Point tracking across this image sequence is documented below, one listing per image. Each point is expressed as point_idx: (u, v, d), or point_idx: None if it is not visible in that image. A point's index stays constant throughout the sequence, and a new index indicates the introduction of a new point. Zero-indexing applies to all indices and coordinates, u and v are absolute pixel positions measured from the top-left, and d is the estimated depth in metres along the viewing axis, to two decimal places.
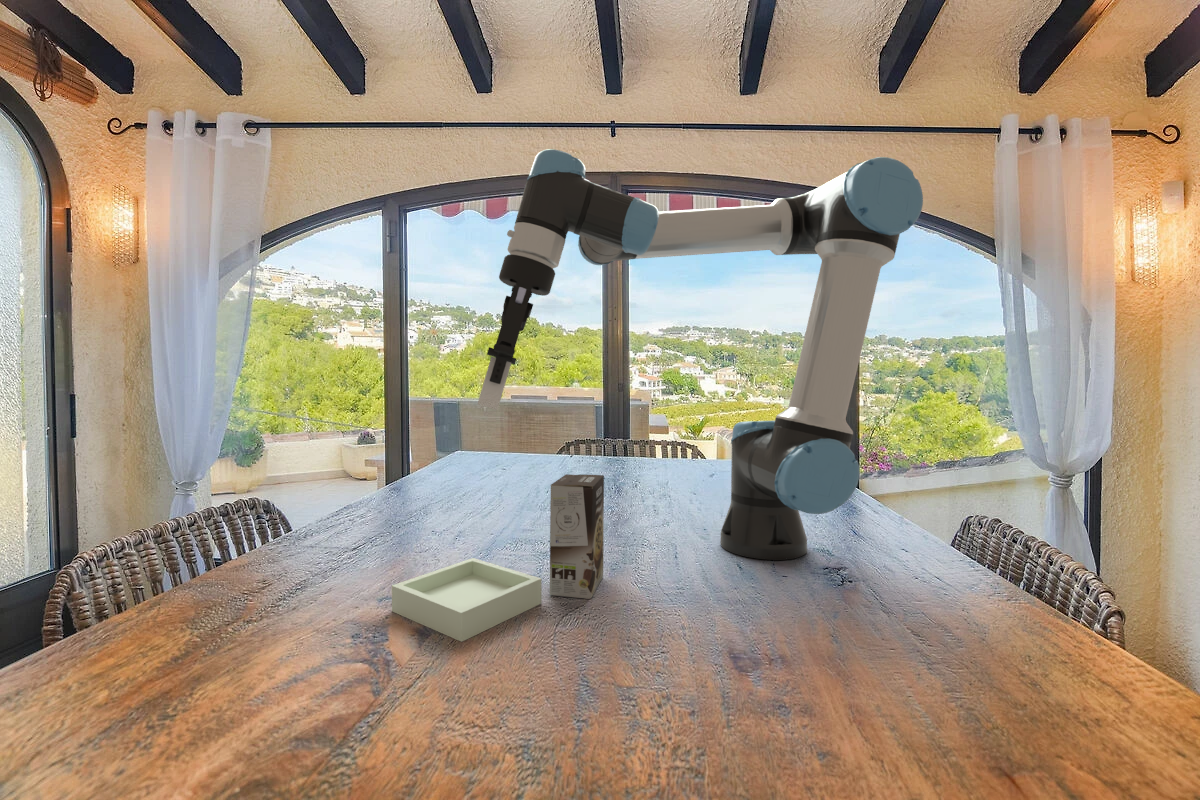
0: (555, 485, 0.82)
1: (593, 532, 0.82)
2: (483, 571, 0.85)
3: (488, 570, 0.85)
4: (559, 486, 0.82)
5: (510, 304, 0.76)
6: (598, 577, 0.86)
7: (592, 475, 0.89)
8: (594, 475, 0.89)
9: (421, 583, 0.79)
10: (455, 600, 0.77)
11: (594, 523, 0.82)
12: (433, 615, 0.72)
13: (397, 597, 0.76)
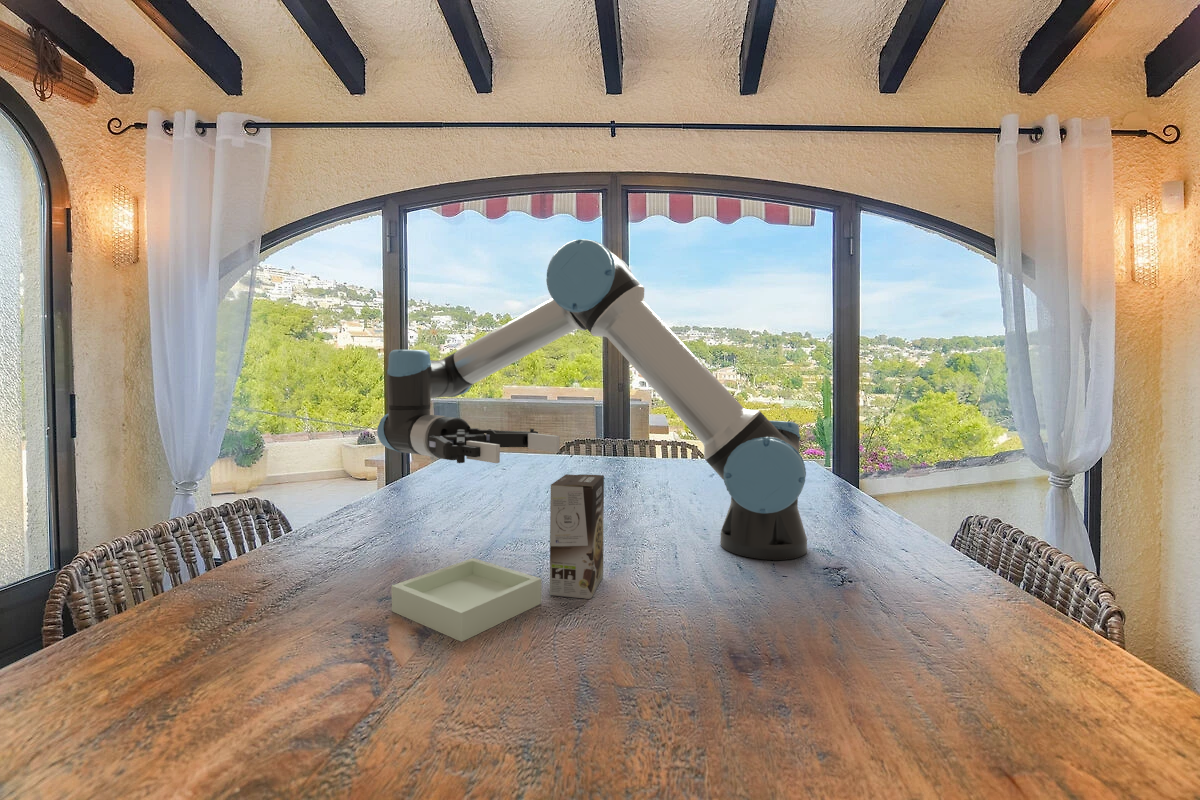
0: (555, 485, 0.82)
1: (593, 532, 0.82)
2: (483, 571, 0.85)
3: (488, 570, 0.85)
4: (559, 486, 0.82)
5: (436, 451, 0.93)
6: (598, 577, 0.86)
7: (592, 475, 0.89)
8: (594, 475, 0.89)
9: (421, 583, 0.79)
10: (455, 600, 0.77)
11: (594, 523, 0.82)
12: (433, 615, 0.72)
13: (397, 597, 0.76)
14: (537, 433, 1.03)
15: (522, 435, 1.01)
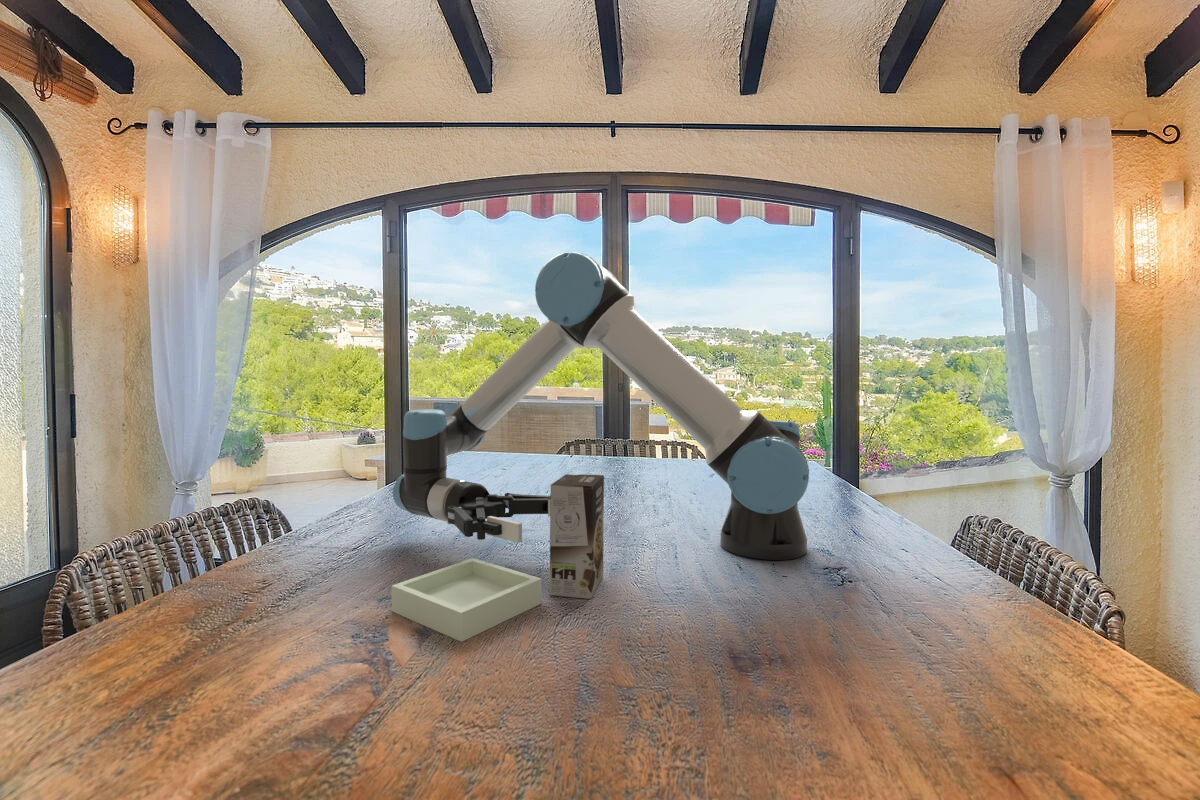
0: (555, 485, 0.82)
1: (593, 532, 0.82)
2: (483, 571, 0.85)
3: (488, 570, 0.85)
4: (559, 486, 0.82)
5: (455, 523, 0.91)
6: (598, 577, 0.86)
7: (592, 475, 0.89)
8: (594, 475, 0.89)
9: (421, 583, 0.79)
10: (455, 600, 0.77)
11: (594, 523, 0.82)
12: (433, 615, 0.72)
13: (397, 597, 0.76)
14: None
15: (542, 501, 0.98)
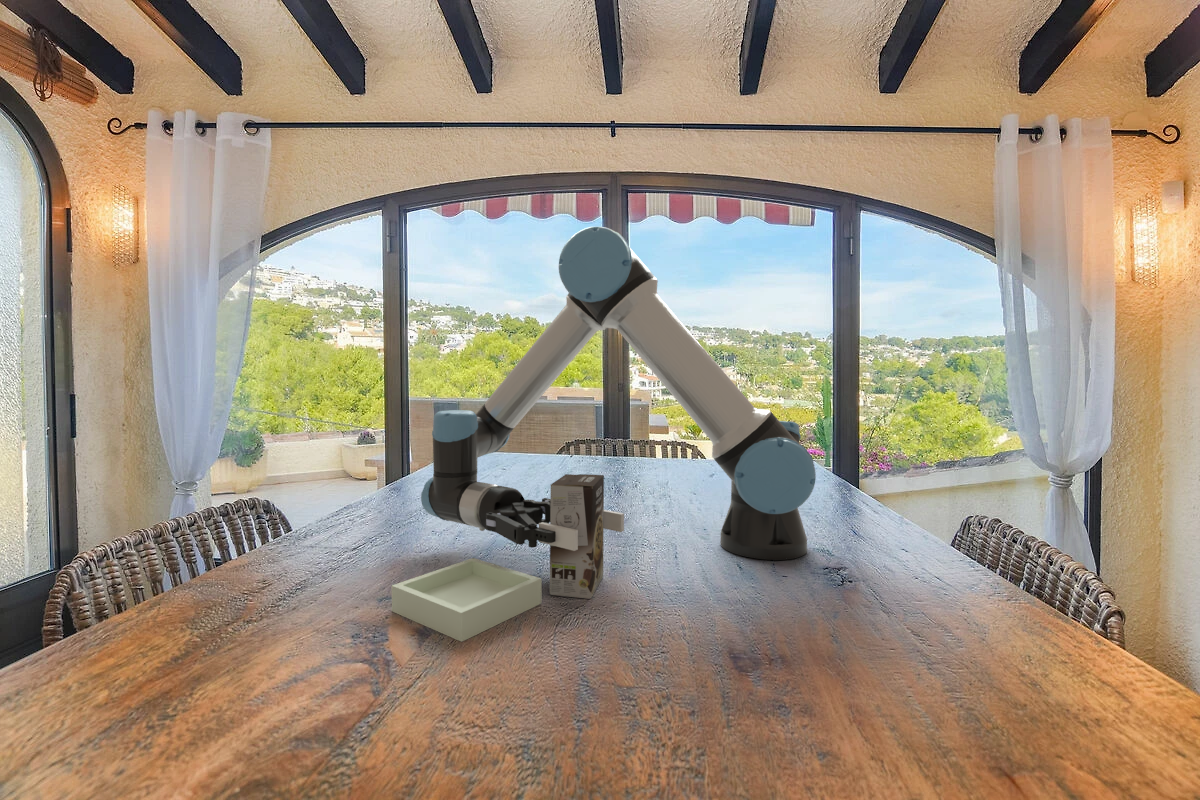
0: (555, 485, 0.82)
1: (593, 532, 0.82)
2: (483, 571, 0.85)
3: (488, 570, 0.85)
4: (559, 486, 0.82)
5: (497, 531, 0.86)
6: (598, 577, 0.86)
7: (592, 475, 0.89)
8: (594, 475, 0.89)
9: (421, 583, 0.79)
10: (455, 600, 0.77)
11: (594, 523, 0.82)
12: (433, 615, 0.72)
13: (397, 597, 0.76)
14: None
15: None
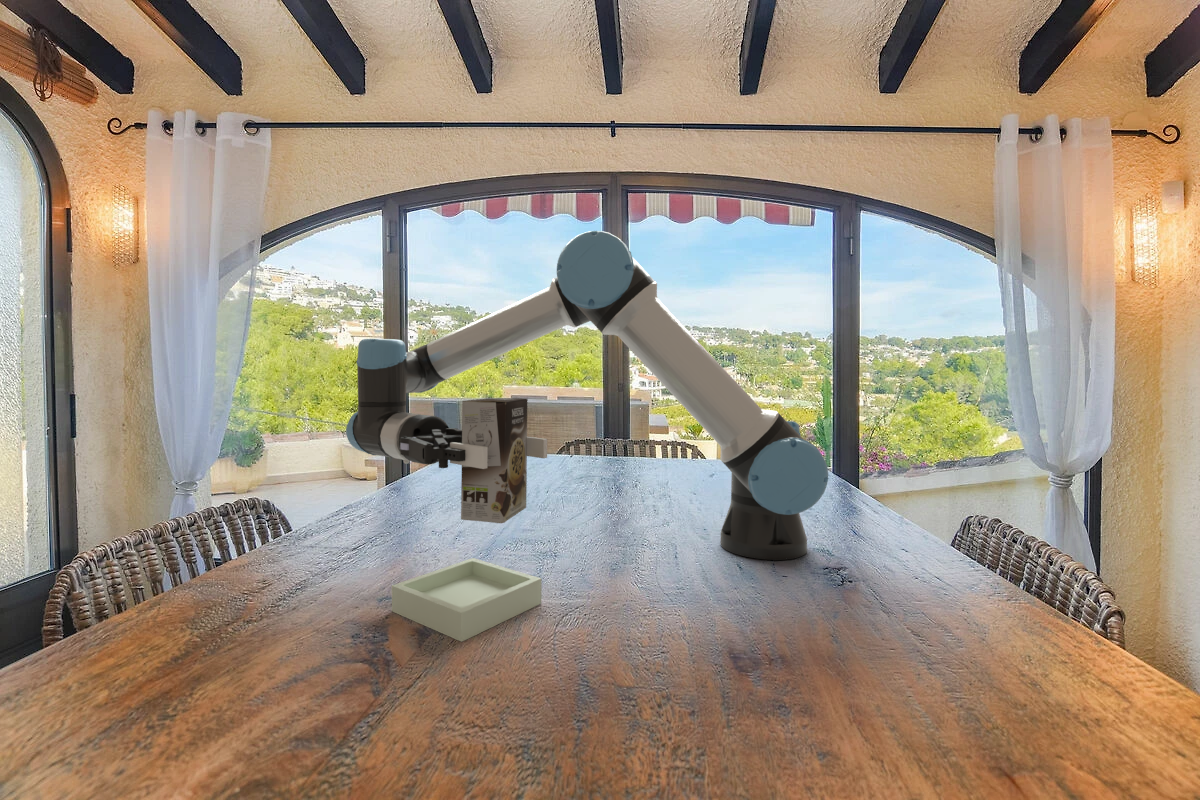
0: (467, 401, 0.76)
1: (507, 452, 0.76)
2: (483, 571, 0.85)
3: (488, 570, 0.85)
4: (471, 402, 0.76)
5: (409, 454, 0.81)
6: (516, 504, 0.80)
7: (514, 398, 0.83)
8: (517, 398, 0.83)
9: (421, 583, 0.79)
10: (455, 600, 0.77)
11: (509, 443, 0.76)
12: (433, 615, 0.72)
13: (397, 597, 0.76)
14: None
15: None
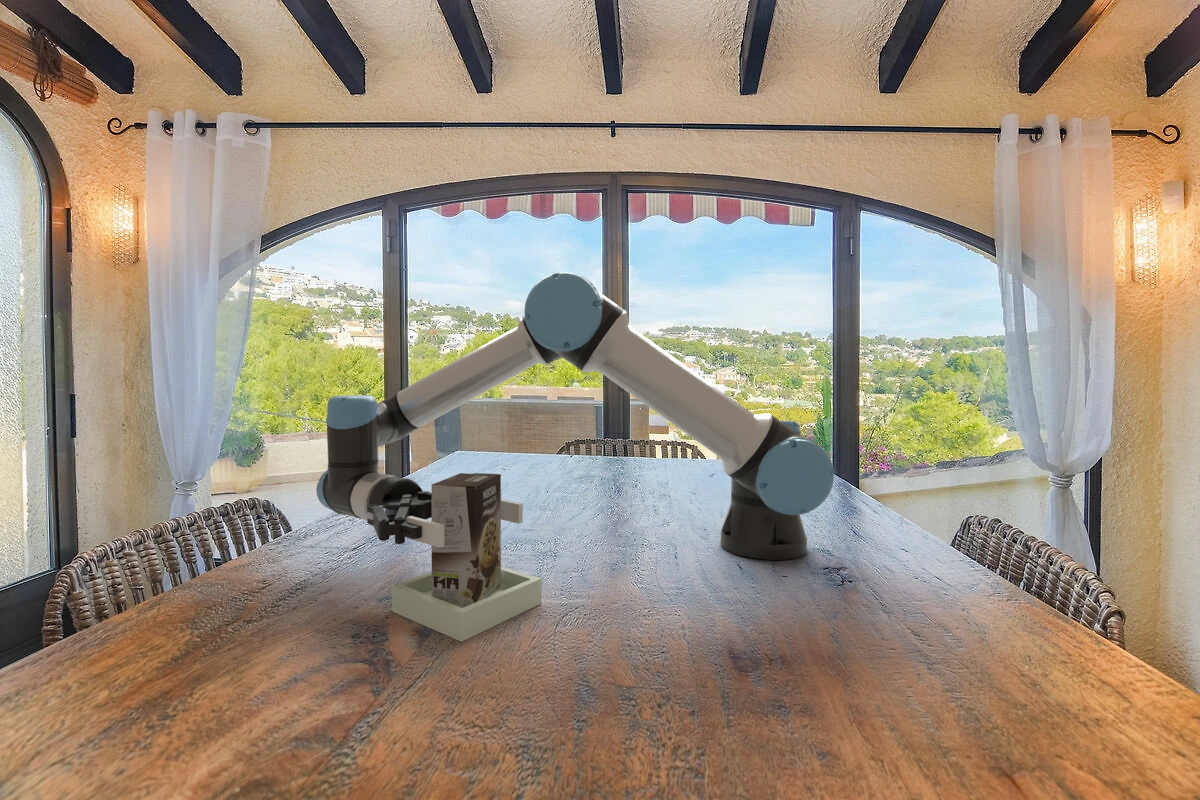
0: (436, 485, 0.74)
1: (478, 537, 0.74)
2: None
3: None
4: (440, 486, 0.74)
5: (373, 525, 0.78)
6: (490, 586, 0.78)
7: (487, 474, 0.81)
8: (489, 474, 0.81)
9: (421, 583, 0.79)
10: None
11: (480, 527, 0.74)
12: (433, 615, 0.72)
13: (397, 597, 0.76)
14: None
15: None
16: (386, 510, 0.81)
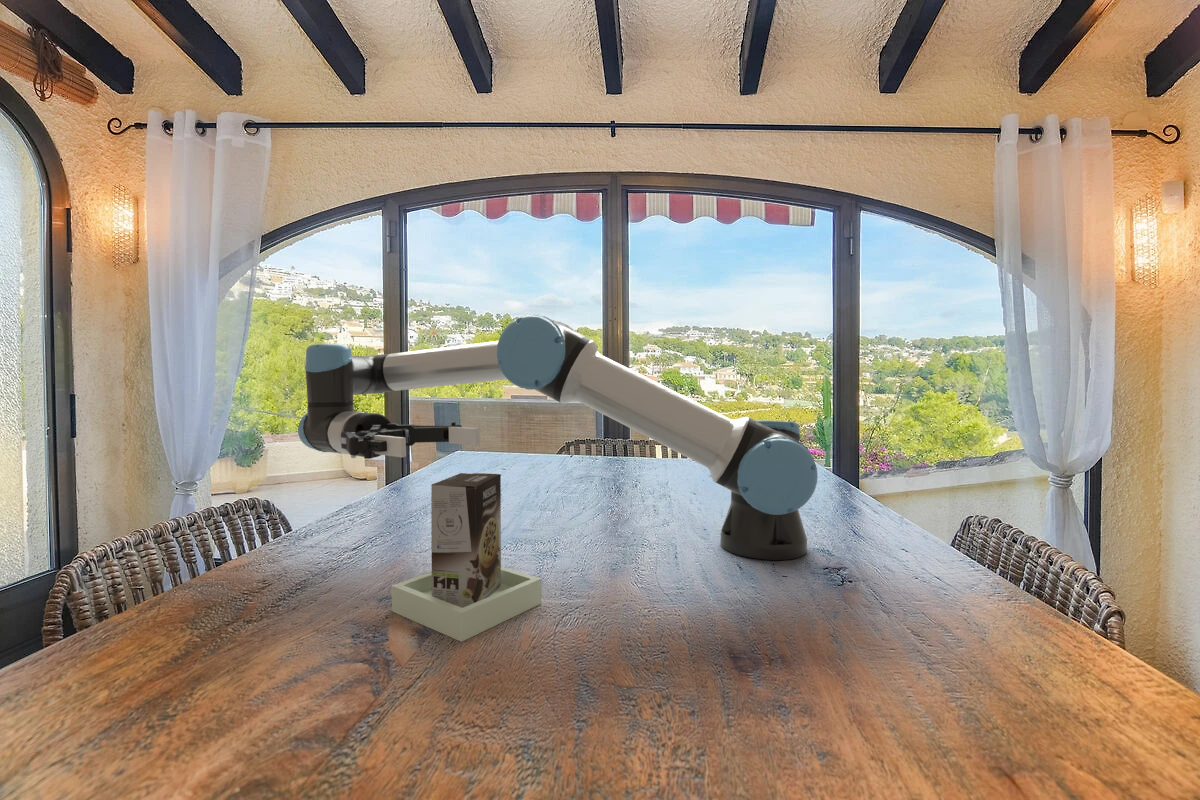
0: (436, 485, 0.74)
1: (478, 537, 0.74)
2: None
3: None
4: (440, 486, 0.74)
5: (346, 447, 0.89)
6: (490, 586, 0.78)
7: (487, 474, 0.81)
8: (489, 474, 0.81)
9: (421, 583, 0.79)
10: None
11: (480, 527, 0.74)
12: (433, 615, 0.72)
13: (397, 597, 0.76)
14: (460, 427, 0.98)
15: (443, 429, 0.96)
16: (358, 437, 0.92)
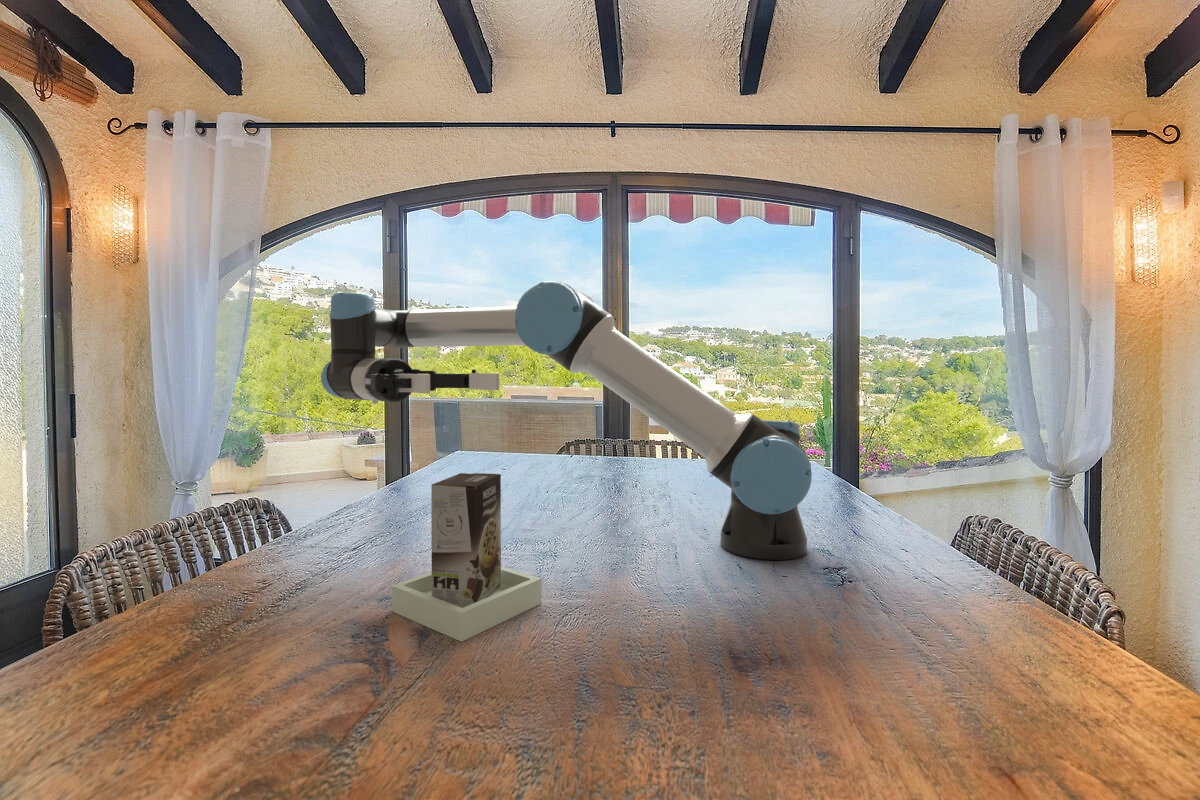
0: (436, 485, 0.74)
1: (478, 537, 0.74)
2: None
3: None
4: (440, 486, 0.74)
5: (370, 387, 0.91)
6: (490, 586, 0.78)
7: (487, 474, 0.81)
8: (489, 474, 0.81)
9: (421, 583, 0.79)
10: None
11: (480, 527, 0.74)
12: (433, 615, 0.72)
13: (397, 597, 0.76)
14: None
15: (463, 375, 0.99)
16: None
